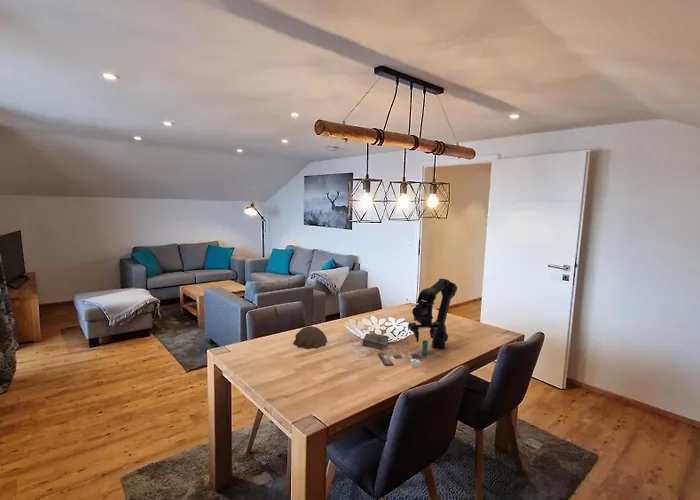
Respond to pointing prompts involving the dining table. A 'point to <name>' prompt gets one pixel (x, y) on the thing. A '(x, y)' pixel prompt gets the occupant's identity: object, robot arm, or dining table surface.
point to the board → (396, 357)
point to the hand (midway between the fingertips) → (425, 341)
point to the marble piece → (375, 341)
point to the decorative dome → (310, 338)
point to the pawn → (424, 348)
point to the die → (414, 362)
